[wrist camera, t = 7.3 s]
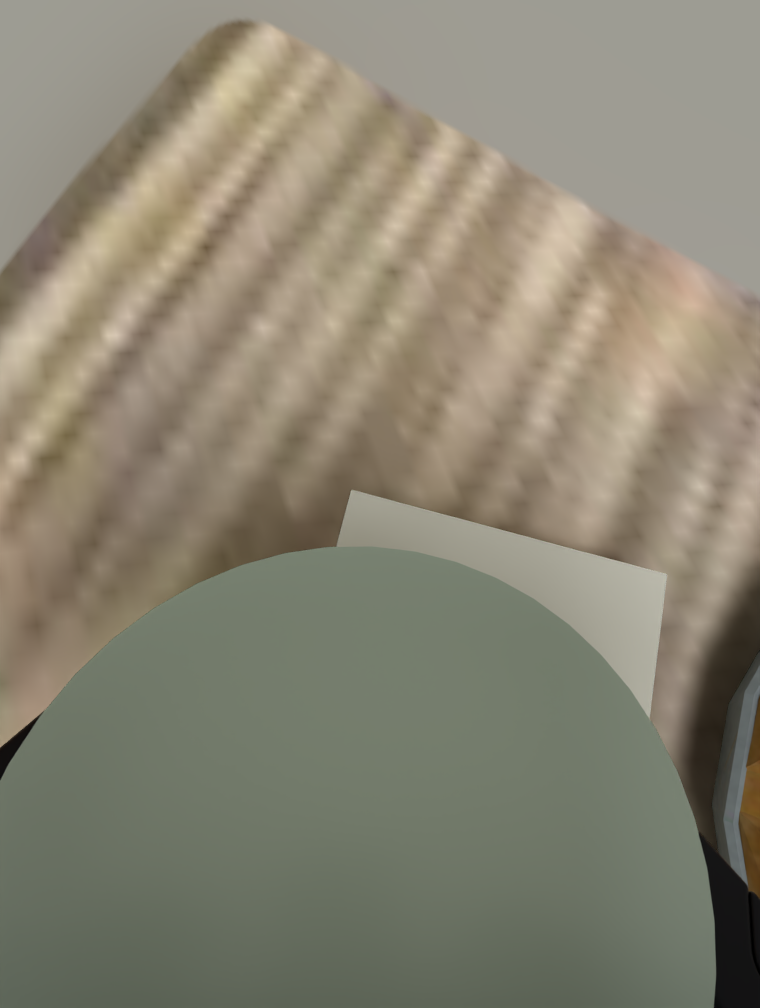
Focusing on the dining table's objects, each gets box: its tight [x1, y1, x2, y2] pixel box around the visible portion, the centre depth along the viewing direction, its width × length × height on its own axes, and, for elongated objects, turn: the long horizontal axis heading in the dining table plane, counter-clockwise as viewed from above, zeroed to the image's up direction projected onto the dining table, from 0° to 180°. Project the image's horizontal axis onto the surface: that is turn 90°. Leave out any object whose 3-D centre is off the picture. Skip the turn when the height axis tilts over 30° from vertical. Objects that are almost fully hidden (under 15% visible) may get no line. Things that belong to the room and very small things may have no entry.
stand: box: [336, 490, 667, 719], centre depth 20 cm, size 12×12×3 cm
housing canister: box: [0, 546, 716, 1008], centre depth 9 cm, size 5×5×11 cm
